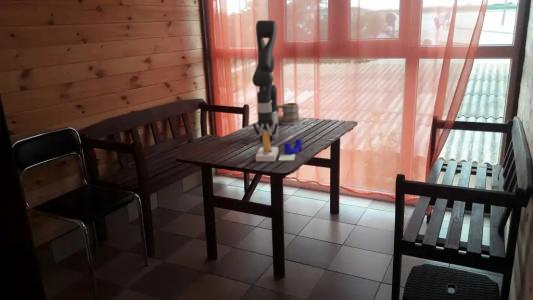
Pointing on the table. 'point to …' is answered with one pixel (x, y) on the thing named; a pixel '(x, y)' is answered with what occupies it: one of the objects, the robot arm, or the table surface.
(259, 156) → the white slab with hole
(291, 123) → the tankard
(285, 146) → the cable clip
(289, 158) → the mat
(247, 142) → the table surface
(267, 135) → the plug
